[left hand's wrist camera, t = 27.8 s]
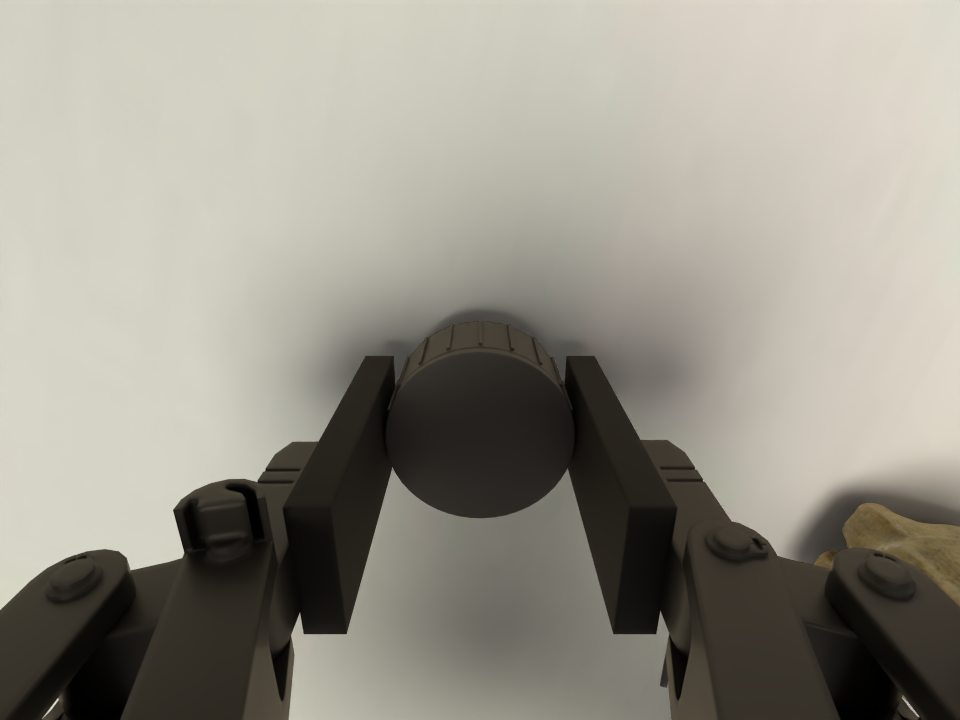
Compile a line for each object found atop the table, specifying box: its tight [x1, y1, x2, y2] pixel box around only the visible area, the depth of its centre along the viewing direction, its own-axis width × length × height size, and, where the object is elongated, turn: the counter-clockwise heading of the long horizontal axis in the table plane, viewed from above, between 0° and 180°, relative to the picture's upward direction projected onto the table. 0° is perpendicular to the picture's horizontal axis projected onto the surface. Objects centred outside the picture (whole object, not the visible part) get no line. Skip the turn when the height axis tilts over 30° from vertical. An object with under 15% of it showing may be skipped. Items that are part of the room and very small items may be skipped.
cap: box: [385, 320, 575, 518], centre depth 14 cm, size 5×5×2 cm
